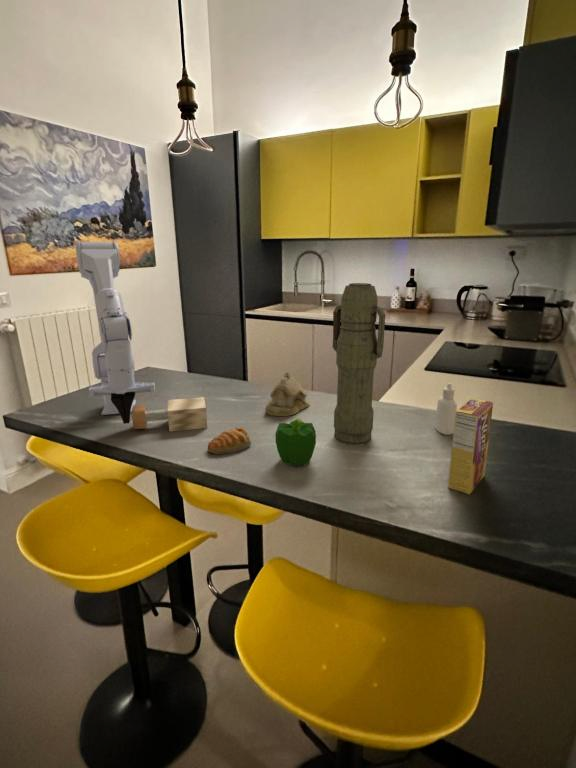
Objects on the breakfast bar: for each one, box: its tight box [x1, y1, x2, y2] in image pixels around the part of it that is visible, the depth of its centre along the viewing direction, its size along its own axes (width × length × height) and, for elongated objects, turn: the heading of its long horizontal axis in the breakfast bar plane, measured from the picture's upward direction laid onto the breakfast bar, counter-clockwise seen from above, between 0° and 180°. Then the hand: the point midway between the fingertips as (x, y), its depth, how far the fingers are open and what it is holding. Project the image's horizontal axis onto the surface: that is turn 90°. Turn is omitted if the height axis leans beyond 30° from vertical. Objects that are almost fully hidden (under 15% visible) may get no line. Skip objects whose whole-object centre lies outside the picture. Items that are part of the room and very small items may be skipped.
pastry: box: [207, 426, 252, 455], centre depth 94 cm, size 9×7×4 cm
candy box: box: [447, 398, 494, 495], centre depth 78 cm, size 9×4×15 cm, turn 140°
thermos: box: [332, 282, 386, 446], centre depth 94 cm, size 9×12×35 cm
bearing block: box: [167, 396, 208, 432], centre depth 107 cm, size 9×8×5 cm
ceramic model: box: [265, 372, 310, 417], centre depth 117 cm, size 14×11×10 cm
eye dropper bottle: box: [434, 382, 458, 436], centre depth 101 cm, size 4×6×12 cm
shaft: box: [131, 403, 168, 430], centre depth 105 cm, size 16×4×4 cm, turn 104°
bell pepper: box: [275, 417, 317, 467], centre depth 87 cm, size 8×8×10 cm
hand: (126, 422), depth 103 cm, fingers closed
